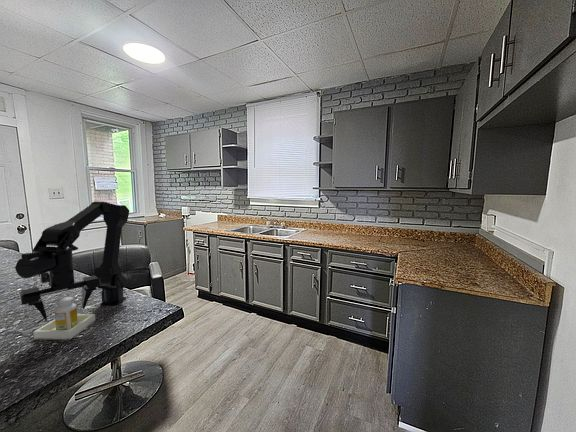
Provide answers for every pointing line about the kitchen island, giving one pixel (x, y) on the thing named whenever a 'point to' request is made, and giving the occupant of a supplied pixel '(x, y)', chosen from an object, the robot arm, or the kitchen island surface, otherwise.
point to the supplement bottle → (65, 314)
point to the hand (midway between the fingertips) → (65, 313)
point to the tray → (51, 332)
